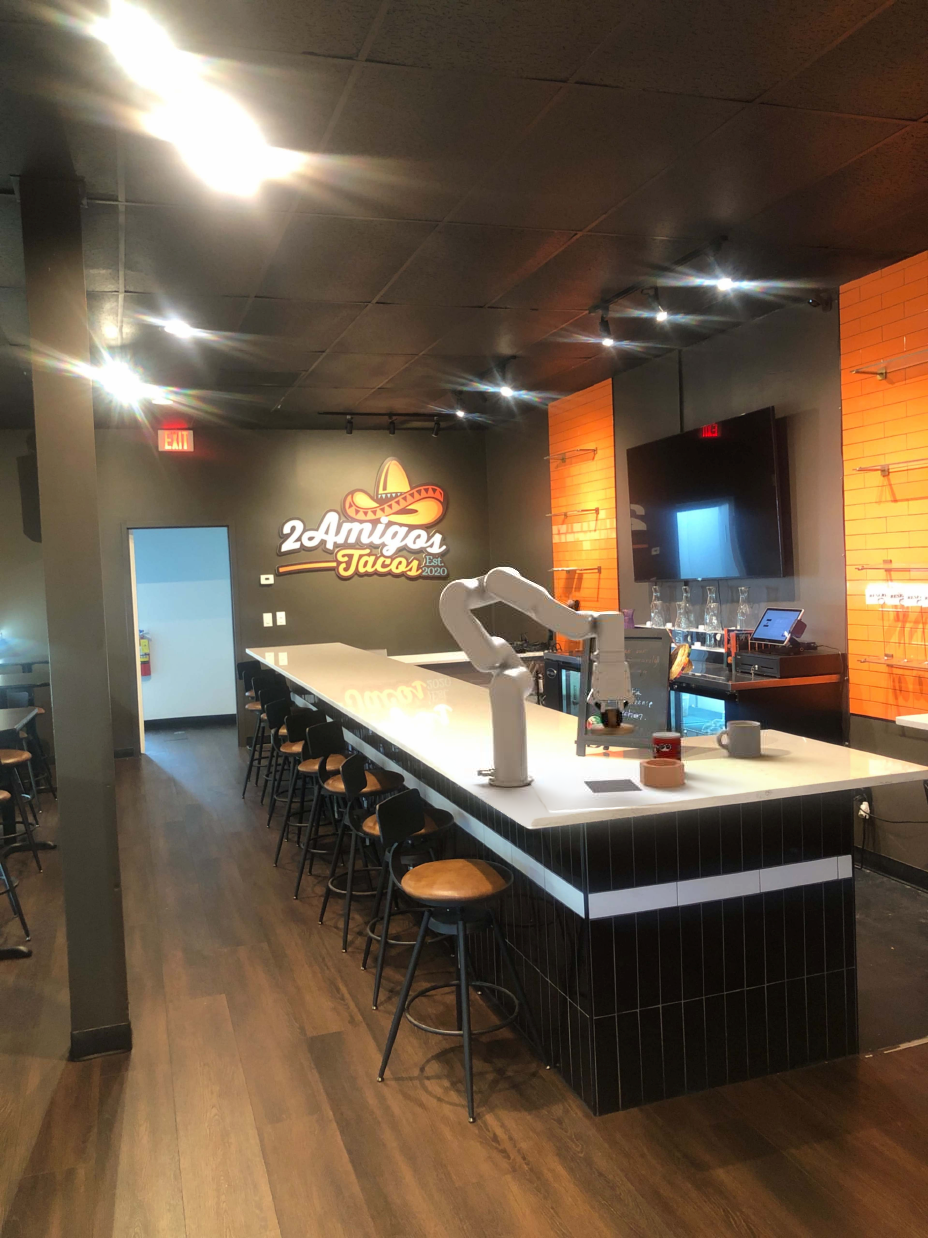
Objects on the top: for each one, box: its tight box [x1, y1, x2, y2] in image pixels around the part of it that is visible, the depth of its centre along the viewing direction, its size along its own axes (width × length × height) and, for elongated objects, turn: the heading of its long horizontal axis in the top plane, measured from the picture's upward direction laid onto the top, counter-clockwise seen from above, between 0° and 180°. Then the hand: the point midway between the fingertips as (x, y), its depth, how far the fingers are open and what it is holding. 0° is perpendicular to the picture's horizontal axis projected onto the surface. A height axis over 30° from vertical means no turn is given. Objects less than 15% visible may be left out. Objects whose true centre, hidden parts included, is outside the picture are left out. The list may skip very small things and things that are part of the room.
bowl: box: [639, 758, 686, 788], centre depth 245 cm, size 11×11×6 cm
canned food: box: [652, 731, 682, 762], centre depth 260 cm, size 8×8×11 cm
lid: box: [588, 707, 635, 736], centre depth 242 cm, size 12×12×6 cm
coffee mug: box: [716, 720, 762, 759], centre depth 280 cm, size 13×10×10 cm
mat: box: [583, 778, 643, 794], centre depth 243 cm, size 13×13×1 cm
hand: (611, 725), depth 242 cm, fingers closed on lid, 3 cm apart
